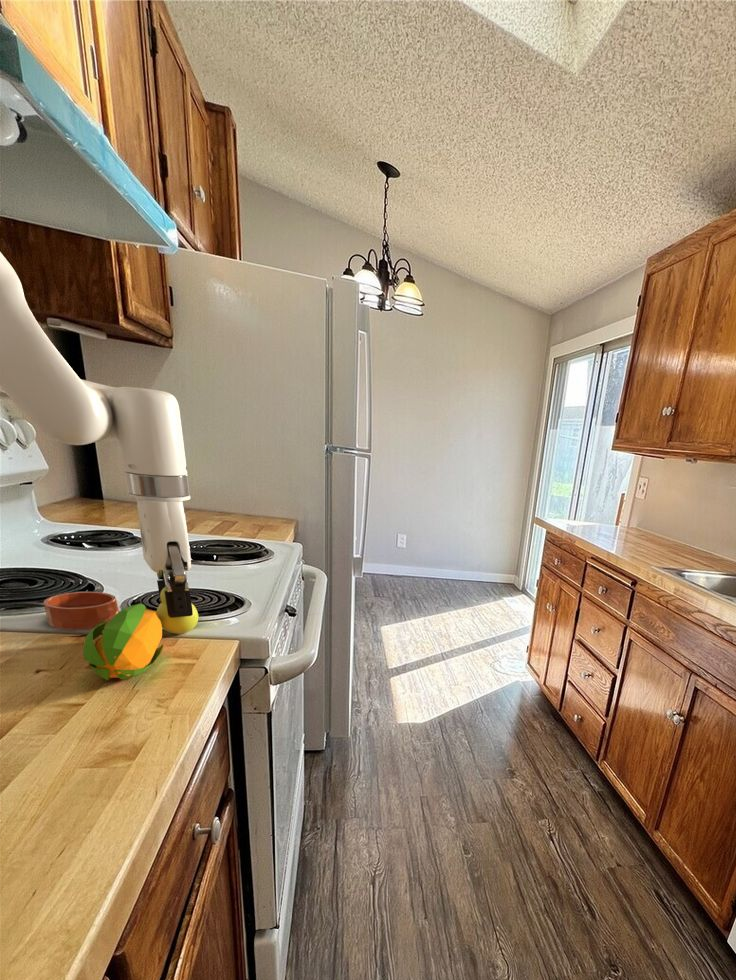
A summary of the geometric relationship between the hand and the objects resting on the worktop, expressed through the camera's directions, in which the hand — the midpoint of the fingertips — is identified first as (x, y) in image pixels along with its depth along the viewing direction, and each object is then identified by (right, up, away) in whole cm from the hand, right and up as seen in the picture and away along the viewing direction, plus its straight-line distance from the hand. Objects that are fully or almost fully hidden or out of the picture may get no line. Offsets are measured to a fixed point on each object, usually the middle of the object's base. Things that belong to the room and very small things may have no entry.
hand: (176, 609), depth 85 cm
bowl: (-13, -3, -1) cm, 14 cm away
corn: (0, -9, -9) cm, 13 cm away
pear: (0, -3, +2) cm, 4 cm away
